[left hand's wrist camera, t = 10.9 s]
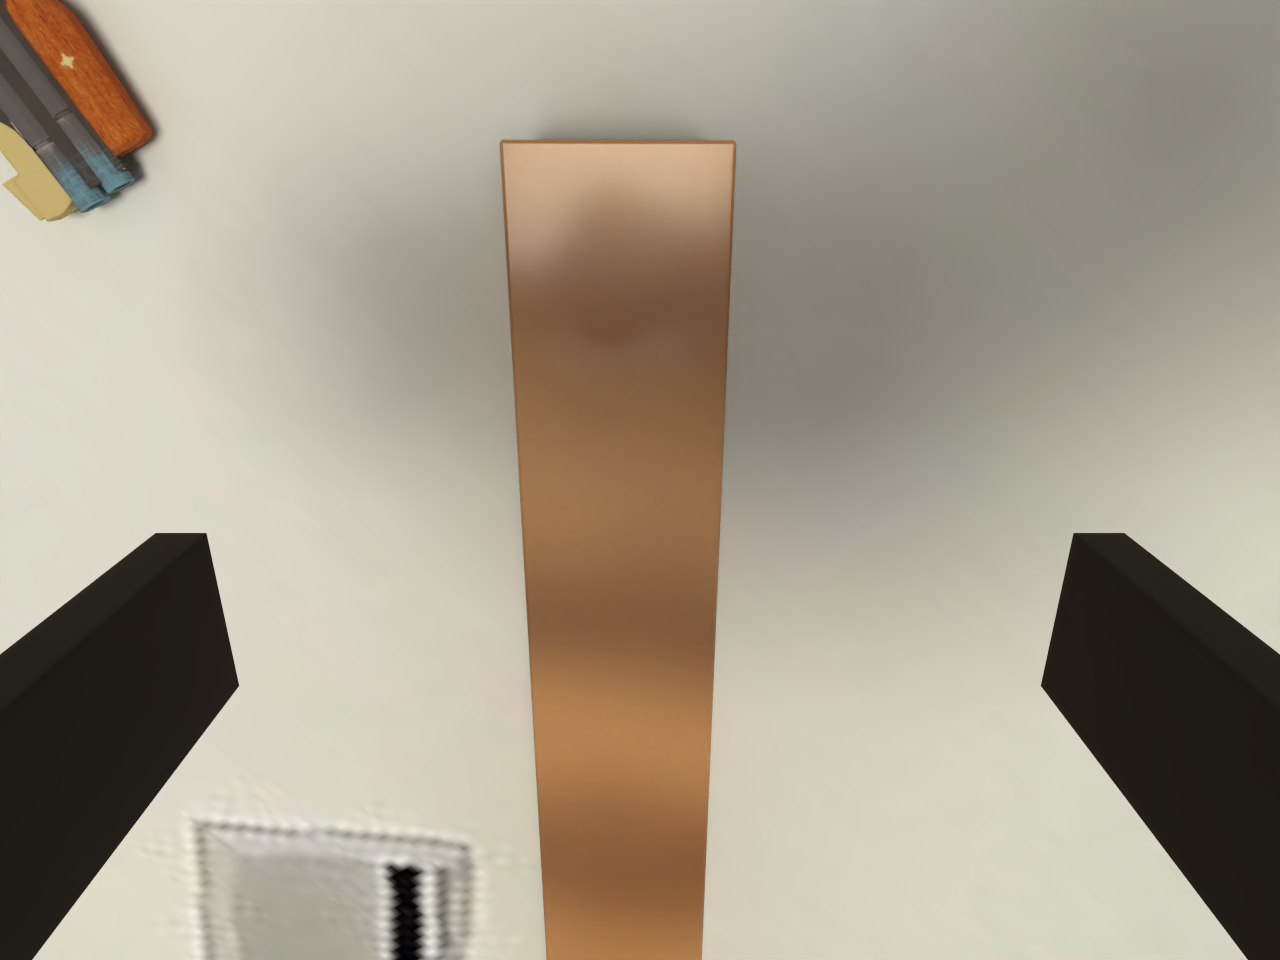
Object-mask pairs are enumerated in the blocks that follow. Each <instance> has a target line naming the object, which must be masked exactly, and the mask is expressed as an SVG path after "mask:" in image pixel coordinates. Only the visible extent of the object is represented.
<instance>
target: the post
mask: <svg viewBox="0 0 1280 960" xmlns="http://www.w3.org/2000/svg"><path fill="white" fill-rule="evenodd" d="M500 154H501V172H502V189H503V206H504V224H505V241H506V259H507V276H508V293H509V311H510V328H511V345H512V363H513V380H514V397H515V415H516V432H517V450H518V467H519V484H520V502H521V519H522V536H523V554H524V571H525V589H526V606H527V623H528V641H529V658H530V675H531V693H532V710H533V727H534V745H535V762H536V780H537V797H538V814H539V832H540V849H541V866H542V884H543V901H544V919H545V936H546V953H547V960H702V939H703V916H704V892H705V869H706V845H707V821H708V798H709V774H710V751H711V727H712V704H713V680H714V656H715V633H716V609H717V586H718V562H719V538H720V515H721V491H722V468H723V444H724V421H725V397H726V373H727V350H728V326H729V303H730V279H731V256H732V232H733V208H734V185H735V161H736V142H735V141H733V140H502V141H501V142H500Z"/></svg>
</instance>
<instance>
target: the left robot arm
mask: <svg viewBox="0 0 1280 960" xmlns="http://www.w3.org/2000/svg"><path fill="white" fill-rule="evenodd" d="M238 687H239V683H238V679H237V674H236V669H235V665H234V660H233V655H232V651H231V646H230V641H229V637H228V632H227V627H226V623H225V618H224V613H223V609H222V604H221V599H220V595H219V590H218V585H217V581H216V576H215V571H214V567H213V562H212V557H211V553H210V548H209V543H208V539H207V534H206V533H155V534H154V535H153V536H151V537H150V538H149V539H148V540H146V541H145V542H144V543H142V544H141V545H140V546H139V547H137V548H136V549H135V550H134V551H132V552H131V553H130V554H128V555H127V556H126V557H125V558H123V559H122V560H121V561H119V562H118V563H117V564H116V565H114V566H113V567H112V568H110V569H109V570H108V571H107V572H105V573H104V574H103V575H101V576H100V577H99V578H98V579H96V580H95V581H94V582H93V583H91V584H90V585H89V586H87V587H86V588H85V589H84V590H82V591H81V592H80V593H78V594H77V595H76V596H75V597H73V598H72V599H71V600H69V601H68V602H67V603H66V604H64V605H63V606H62V607H60V608H59V609H58V610H57V611H55V612H54V613H53V614H52V615H50V616H49V617H48V618H46V619H45V620H44V621H43V622H41V623H40V624H39V625H37V626H36V627H35V628H34V629H32V630H31V631H30V632H28V633H27V634H26V635H25V636H23V637H22V638H21V639H20V640H18V641H17V642H16V643H14V644H13V645H12V646H11V647H9V648H8V649H7V650H5V651H4V652H3V653H2V654H0V960H32V959H33V958H34V957H35V955H36V954H37V953H38V951H39V950H40V949H41V947H42V946H43V945H44V943H45V942H46V941H47V939H48V938H49V937H50V935H51V934H52V933H53V931H54V930H55V929H56V927H57V926H58V925H59V923H60V922H61V921H62V919H63V918H64V917H65V916H66V914H67V913H68V912H69V910H70V909H71V908H72V906H73V905H74V904H75V902H76V901H77V900H78V898H79V897H80V896H81V894H82V893H83V892H84V890H85V889H86V888H87V886H88V885H89V884H90V882H91V881H92V880H93V878H94V877H95V876H96V874H97V873H98V872H99V870H100V869H101V868H102V867H103V865H104V864H105V863H106V861H107V860H108V859H109V857H110V856H111V855H112V853H113V852H114V851H115V849H116V848H117V847H118V845H119V844H120V843H121V841H122V840H123V839H124V837H125V836H126V835H127V833H128V832H129V831H130V829H131V828H132V827H133V825H134V824H135V823H136V822H137V820H138V819H139V818H140V816H141V815H142V814H143V812H144V811H145V810H146V808H147V807H148V806H149V804H150V803H151V802H152V800H153V799H154V798H155V796H156V795H157V794H158V792H159V791H160V790H161V788H162V787H163V786H164V784H165V783H166V782H167V780H168V779H169V778H170V777H171V775H172V774H173V773H174V771H175V770H176V769H177V767H178V766H179V765H180V763H181V762H182V761H183V759H184V758H185V757H186V755H187V754H188V753H189V751H190V750H191V749H192V747H193V746H194V745H195V743H196V742H197V741H198V739H199V738H200V737H201V735H202V734H203V733H204V732H205V730H206V729H207V728H208V726H209V725H210V724H211V722H212V721H213V720H214V718H215V717H216V716H217V714H218V713H219V712H220V710H221V709H222V708H223V706H224V705H225V704H226V702H227V701H228V700H229V698H230V697H231V696H232V694H233V693H234V692H235V690H236V689H237V688H238ZM1041 687H1042V688H1043V689H1044V690H1045V692H1046V693H1047V694H1048V696H1049V697H1050V698H1051V700H1052V701H1053V702H1054V704H1055V705H1056V706H1057V708H1058V709H1059V710H1060V712H1061V713H1062V714H1063V716H1064V717H1065V718H1066V720H1067V721H1068V722H1069V724H1070V725H1071V726H1072V728H1073V729H1074V730H1075V732H1076V733H1077V734H1078V735H1079V737H1080V738H1081V739H1082V741H1083V742H1084V743H1085V745H1086V746H1087V747H1088V749H1089V750H1090V751H1091V753H1092V754H1093V755H1094V757H1095V758H1096V759H1097V761H1098V762H1099V763H1100V765H1101V766H1102V767H1103V769H1104V770H1105V771H1106V773H1107V774H1108V775H1109V777H1110V778H1111V779H1112V780H1113V782H1114V783H1115V784H1116V786H1117V787H1118V788H1119V790H1120V791H1121V792H1122V794H1123V795H1124V796H1125V798H1126V799H1127V800H1128V802H1129V803H1130V804H1131V806H1132V807H1133V808H1134V810H1135V811H1136V812H1137V814H1138V815H1139V816H1140V818H1141V819H1142V820H1143V822H1144V823H1145V824H1146V825H1147V827H1148V828H1149V829H1150V831H1151V832H1152V833H1153V835H1154V836H1155V837H1156V839H1157V840H1158V841H1159V843H1160V844H1161V845H1162V847H1163V848H1164V849H1165V851H1166V852H1167V853H1168V855H1169V856H1170V857H1171V859H1172V860H1173V861H1174V863H1175V864H1176V865H1177V867H1178V868H1179V869H1180V870H1181V872H1182V873H1183V874H1184V876H1185V877H1186V878H1187V880H1188V881H1189V882H1190V884H1191V885H1192V886H1193V888H1194V889H1195V890H1196V892H1197V893H1198V894H1199V896H1200V897H1201V898H1202V900H1203V901H1204V902H1205V904H1206V905H1207V906H1208V908H1209V909H1210V910H1211V912H1212V913H1213V914H1214V915H1215V917H1216V918H1217V919H1218V921H1219V922H1220V923H1221V925H1222V926H1223V927H1224V929H1225V930H1226V931H1227V933H1228V934H1229V935H1230V937H1231V938H1232V939H1233V941H1234V942H1235V943H1236V945H1237V946H1238V947H1239V949H1240V950H1241V951H1242V953H1243V954H1244V955H1245V957H1246V958H1247V959H1248V960H1280V654H1278V653H1277V652H1276V651H1275V650H1273V649H1272V648H1271V647H1269V646H1268V645H1267V644H1266V643H1264V642H1263V641H1262V640H1260V639H1259V638H1258V637H1257V636H1255V635H1254V634H1253V633H1252V632H1250V631H1249V630H1248V629H1246V628H1245V627H1244V626H1243V625H1241V624H1240V623H1239V622H1237V621H1236V620H1235V619H1234V618H1232V617H1231V616H1230V615H1228V614H1227V613H1226V612H1225V611H1223V610H1222V609H1221V608H1220V607H1218V606H1217V605H1216V604H1214V603H1213V602H1212V601H1211V600H1209V599H1208V598H1207V597H1205V596H1204V595H1203V594H1202V593H1200V592H1199V591H1198V590H1196V589H1195V588H1194V587H1193V586H1191V585H1190V584H1189V583H1187V582H1186V581H1185V580H1184V579H1182V578H1181V577H1180V576H1179V575H1177V574H1176V573H1175V572H1173V571H1172V570H1171V569H1170V568H1168V567H1167V566H1166V565H1164V564H1163V563H1162V562H1161V561H1159V560H1158V559H1157V558H1155V557H1154V556H1153V555H1152V554H1150V553H1149V552H1148V551H1146V550H1145V549H1144V548H1143V547H1141V546H1140V545H1139V544H1138V543H1136V542H1135V541H1134V540H1132V539H1131V538H1130V537H1129V536H1127V535H1126V534H1125V533H1074V534H1073V539H1072V543H1071V548H1070V553H1069V557H1068V562H1067V567H1066V571H1065V576H1064V581H1063V585H1062V590H1061V595H1060V599H1059V604H1058V609H1057V613H1056V618H1055V623H1054V627H1053V632H1052V637H1051V641H1050V646H1049V651H1048V655H1047V660H1046V665H1045V669H1044V674H1043V679H1042V683H1041Z"/></svg>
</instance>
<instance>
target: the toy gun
mask: <svg viewBox="0 0 1280 960" xmlns="http://www.w3.org/2000/svg"><path fill="white" fill-rule="evenodd" d="M152 134H153V133H152V130H151V128H150V127H149V125H148V124H147V122H146V121H145V119H144V118H143V116H142V114H141V113H140V111H139V110H138V108H137V107H136V105H135V104H134V102H133V101H132V99H131V98H130V96H129V94H128V93H127V91H126V90H125V88H124V87H123V85H122V84H121V82H120V81H119V79H118V78H117V76H116V75H115V73H114V72H113V70H112V69H111V67H110V66H109V64H108V63H107V61H106V60H105V58H104V57H103V55H102V54H101V52H100V51H99V49H98V48H97V47H96V45H95V44H94V42H93V41H92V39H91V38H90V36H89V35H88V33H87V32H86V30H85V29H84V27H83V26H82V24H81V23H80V21H79V20H78V18H77V17H76V16H75V15H74V14H73V12H72V11H71V10H70V9H69V8H68V7H67V6H65V5H64V4H63V3H61V2H60V1H59V0H0V151H1V152H2V153H3V155H4V156H5V157H6V158H7V160H8V161H9V162H10V164H11V165H12V166H13V168H14V169H15V170H16V172H17V173H18V175H17V176H15V177H13V178H12V179H10V180H8V181H7V182H5V183H4V184H2V185H3V186H5V187H6V188H7V189H8V190H9V191H10V192H11V193H12V194H13V195H14V196H15V197H16V198H17V199H18V200H19V201H20V202H21V203H22V204H23V205H24V206H25V207H26V208H28V209H29V210H30V211H31V212H32V213H33V214H34V215H35V216H36V217H37V218H38V219H39V220H43V219H46V220H47V221H54V220H60V219H62V218H64V217H66V216H68V215H69V214H71V213H73V212H74V211H75V210H76V209H77V208H78V209H79V211H80V212H81V213H84V212H88V211H90V210H92V209H95V208H97V207H99V206H100V205H102V204H104V203H106V202H108V201H109V200H110V199H111V196H110V195H109V194H111V193H115V192H117V191H119V190H121V189H123V188H125V187H127V186H129V185H130V184H132V183H133V182H134V181H135V178H134V177H133V176H132V174H131V173H130V170H132V169H134V168H133V166H132V165H131V164H130V162H129V161H128V159H127V158H126V155H127V154H128V153H130V152H132V151H133V150H135V149H137V148H138V147H140V146H142V145H143V144H145V143H147V141H148V140H149V139H150V137H151V136H152Z"/></svg>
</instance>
